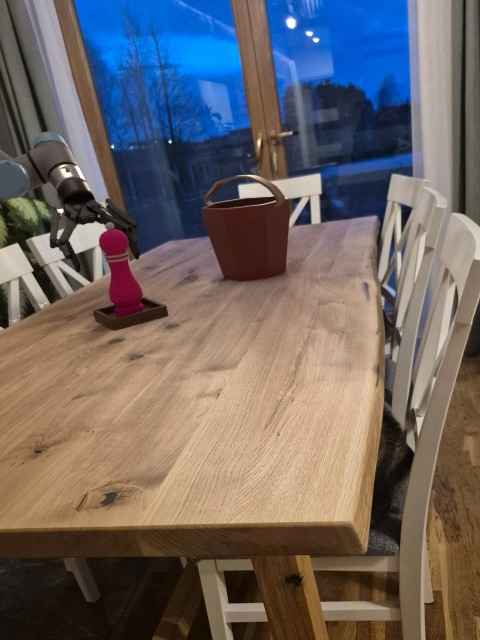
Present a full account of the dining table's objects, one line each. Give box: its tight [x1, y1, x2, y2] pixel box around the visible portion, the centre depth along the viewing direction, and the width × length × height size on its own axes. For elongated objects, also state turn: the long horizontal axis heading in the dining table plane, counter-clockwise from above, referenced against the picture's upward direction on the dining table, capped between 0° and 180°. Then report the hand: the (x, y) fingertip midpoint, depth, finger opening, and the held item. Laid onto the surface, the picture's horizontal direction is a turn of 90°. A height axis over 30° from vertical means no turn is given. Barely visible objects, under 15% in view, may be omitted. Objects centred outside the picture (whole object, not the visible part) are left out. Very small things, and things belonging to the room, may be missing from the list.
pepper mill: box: [98, 222, 144, 317], centre depth 125 cm, size 7×7×20 cm
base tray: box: [92, 296, 169, 331], centre depth 130 cm, size 13×13×2 cm
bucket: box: [200, 174, 291, 282], centre depth 153 cm, size 24×22×25 cm
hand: (109, 262), depth 129 cm, fingers open, 13 cm apart
